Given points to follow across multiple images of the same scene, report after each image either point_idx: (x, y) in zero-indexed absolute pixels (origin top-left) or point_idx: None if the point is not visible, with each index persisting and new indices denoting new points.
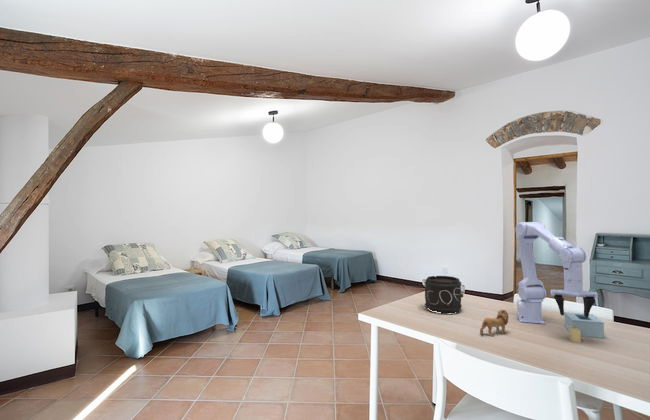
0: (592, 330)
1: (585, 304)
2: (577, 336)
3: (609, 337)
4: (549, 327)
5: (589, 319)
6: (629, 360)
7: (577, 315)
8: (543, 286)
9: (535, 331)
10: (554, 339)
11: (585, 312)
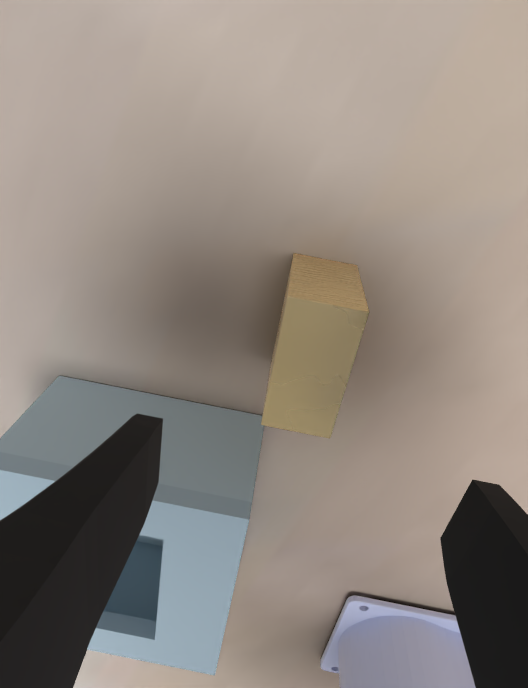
0: (112, 423)
1: (53, 662)
2: (317, 277)
3: (17, 394)
4: (352, 545)
5: None
6: None
7: (134, 625)
8: None
9: (524, 475)
10: (489, 313)
11: (135, 494)
